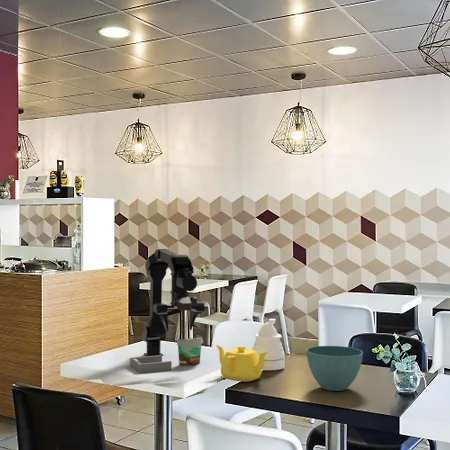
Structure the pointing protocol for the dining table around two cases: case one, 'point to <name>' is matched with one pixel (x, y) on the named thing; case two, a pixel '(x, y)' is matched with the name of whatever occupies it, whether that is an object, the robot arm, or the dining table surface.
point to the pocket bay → (150, 364)
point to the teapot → (241, 364)
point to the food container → (189, 351)
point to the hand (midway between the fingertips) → (178, 330)
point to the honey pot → (270, 346)
